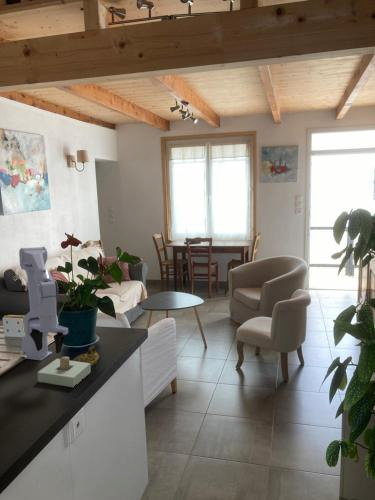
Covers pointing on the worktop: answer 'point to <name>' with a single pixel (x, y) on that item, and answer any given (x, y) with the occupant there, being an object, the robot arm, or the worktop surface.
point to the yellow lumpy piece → (88, 356)
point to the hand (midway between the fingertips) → (49, 351)
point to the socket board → (64, 373)
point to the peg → (64, 364)
